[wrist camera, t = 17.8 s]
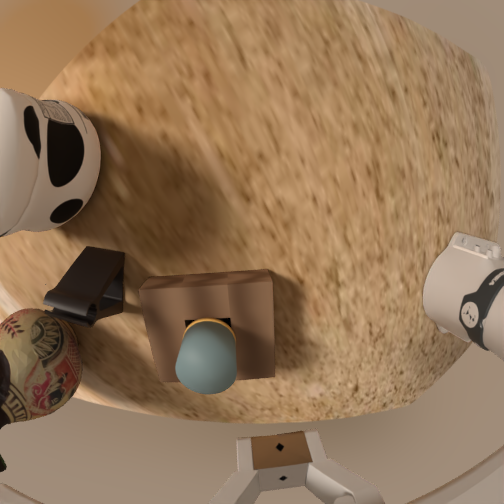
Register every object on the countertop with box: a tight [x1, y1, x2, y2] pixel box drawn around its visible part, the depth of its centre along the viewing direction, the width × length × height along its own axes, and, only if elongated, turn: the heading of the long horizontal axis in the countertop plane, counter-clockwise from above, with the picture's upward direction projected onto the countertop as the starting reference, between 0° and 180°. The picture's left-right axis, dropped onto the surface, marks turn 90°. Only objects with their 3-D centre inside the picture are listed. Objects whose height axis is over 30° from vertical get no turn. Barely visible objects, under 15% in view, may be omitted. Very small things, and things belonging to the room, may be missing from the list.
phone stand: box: [43, 246, 125, 328], centre depth 31 cm, size 9×6×12 cm, turn 170°
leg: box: [175, 318, 237, 394], centre depth 33 cm, size 6×6×12 cm
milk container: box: [0, 88, 101, 237], centre depth 24 cm, size 17×17×18 cm
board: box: [138, 269, 275, 382], centre depth 37 cm, size 16×14×5 cm
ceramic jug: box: [0, 284, 82, 472], centre depth 23 cm, size 17×15×30 cm
